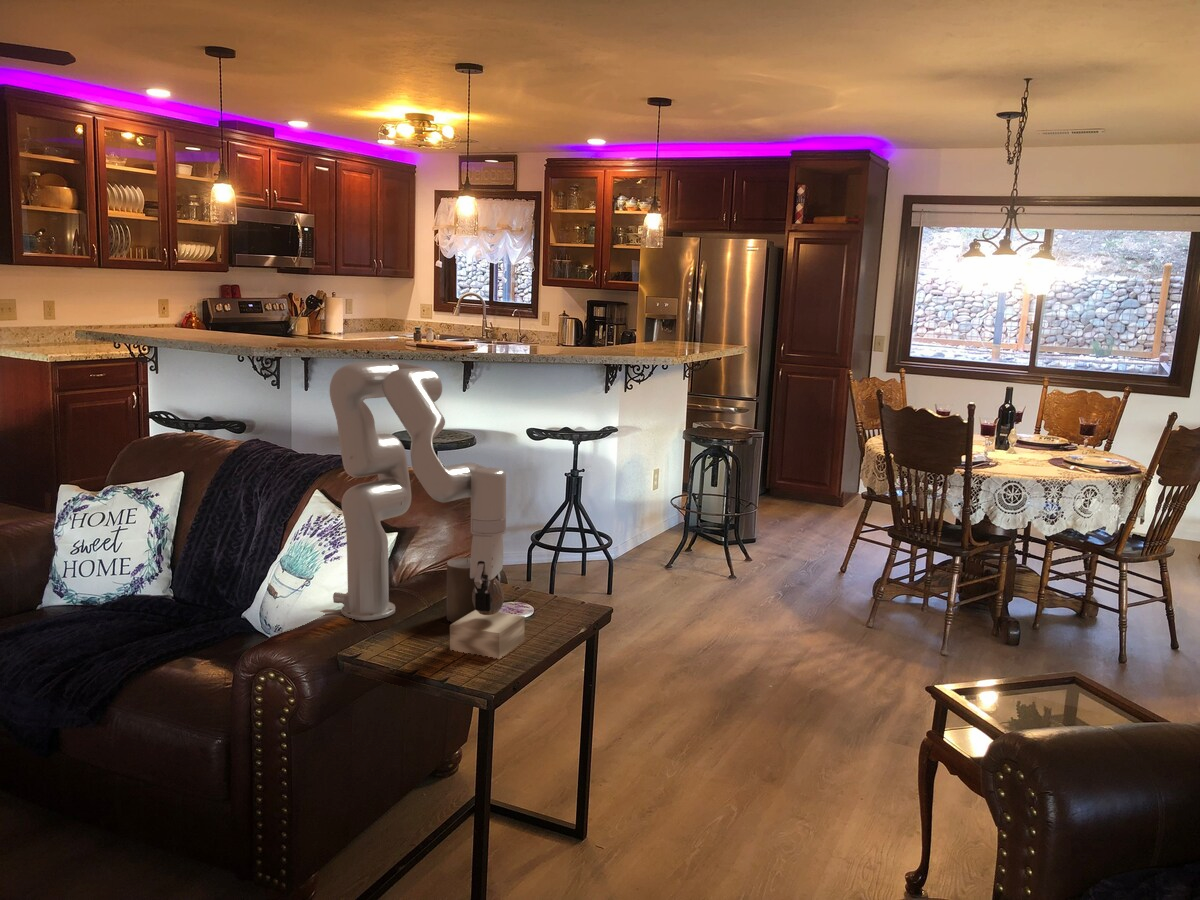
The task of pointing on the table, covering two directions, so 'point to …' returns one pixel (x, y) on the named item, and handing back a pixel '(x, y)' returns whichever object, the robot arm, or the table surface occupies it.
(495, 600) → the vase
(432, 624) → the table surface
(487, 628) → the maple block
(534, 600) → the table surface
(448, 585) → the pillar candle
